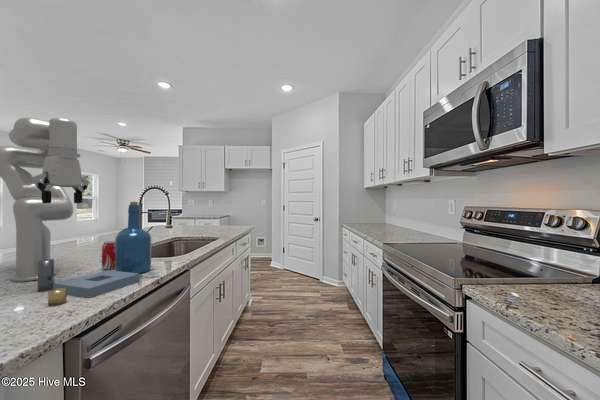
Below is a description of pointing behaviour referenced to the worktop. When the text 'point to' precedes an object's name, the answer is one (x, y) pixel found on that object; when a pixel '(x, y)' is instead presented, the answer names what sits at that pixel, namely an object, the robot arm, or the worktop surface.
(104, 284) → the sleeve block
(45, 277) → the tall steel pin
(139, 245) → the wine bottle
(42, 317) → the worktop surface
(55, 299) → the short brass pin
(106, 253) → the soda can
